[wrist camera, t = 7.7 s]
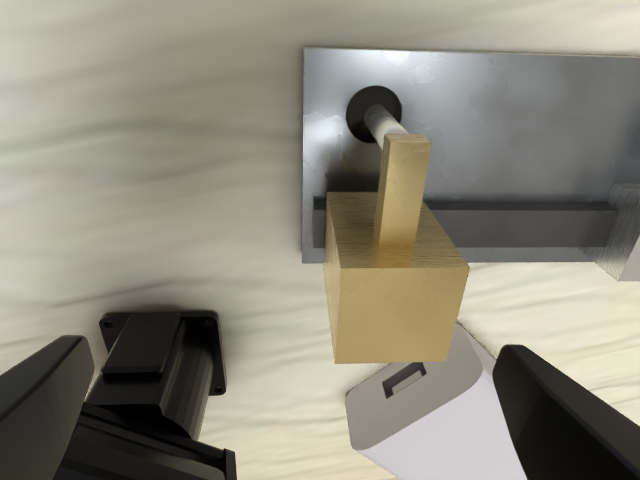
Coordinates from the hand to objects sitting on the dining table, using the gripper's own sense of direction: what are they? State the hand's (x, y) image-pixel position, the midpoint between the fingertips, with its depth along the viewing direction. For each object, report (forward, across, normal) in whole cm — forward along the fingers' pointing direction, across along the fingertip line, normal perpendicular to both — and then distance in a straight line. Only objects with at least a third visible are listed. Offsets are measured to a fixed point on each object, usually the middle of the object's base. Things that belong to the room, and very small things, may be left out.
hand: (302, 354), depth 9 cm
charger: (+12, -12, +17) cm, 25 cm away
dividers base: (+12, -10, -1) cm, 16 cm away
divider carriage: (+11, -3, 0) cm, 11 cm away
